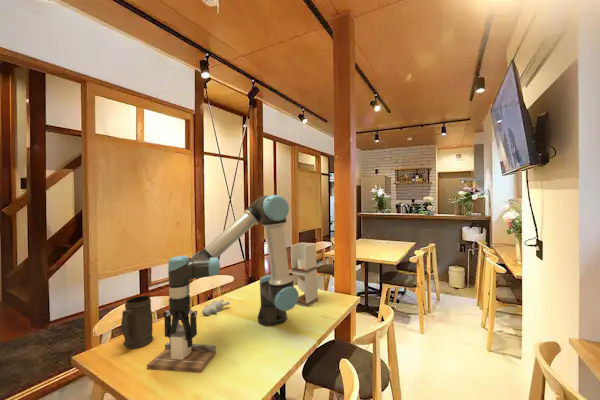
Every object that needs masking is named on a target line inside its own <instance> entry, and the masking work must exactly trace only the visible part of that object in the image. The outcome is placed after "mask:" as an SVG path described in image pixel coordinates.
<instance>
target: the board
mask: <svg viewBox="0 0 600 400" xmlns="http://www.w3.org/2000/svg"><path fill="white" fill-rule="evenodd" d="M216 354H217V345H215V344H198V343H197V344H196V343H192V346H191V353H190V354H189V355H188V356H187V357H185V358H184V359H183V360H177V359H171V346H170V342H166V343H165V344H164V350H162V351H161V352H160V353H159V354H158V355H157V356H155V357H154V358H153V359H152V360H151V361H150V362H148V363H147V364H146V369H147V370H160V371H173V372H189V373H199V374H200V373H202V372H203V371H204V370H205V368H206V367H208V365H209V364H210V362H211V361H212V360H213V359H214V357H215V356H216Z"/></svg>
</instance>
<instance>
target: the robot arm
mask: <svg viewBox="0 0 600 400" xmlns="http://www.w3.org/2000/svg"><path fill="white" fill-rule="evenodd" d="M243 211H244V212H243V214H242V215H240V216H239V217H238V218H237V219H236V220H235V221H233V222H232V223H231V224H230V225H229V226H227V228H226V229H224V230H223V231H222V232H221V233H219V235H217V236H216V237H215V238H214V239H213V240H211V242H209V243H208V244H207V245H206V246H204V248H203V249H201V250H200V251H198V252H196V253H194V254H193V255H192V256H191V257H190V259H189V256H188V255H177V256H173V257H170V258H169V260H168V268H167V269H168V270H167V272H168V274H167V275H168V297H169V298H168V306H170V307H169V309H167V310H165V311H164V312H162V315H163V318H164V337H165V338H169V343H170V346H171V340H170V336H171V335H172V334H173V333H175V332H176V329H177V325H178V320H179V321H180V322H181V324H182V325H183V327H184V330H185V334H186V338H187V339H185V357H187V356H188V355H189V354H190V353H191V346H192V344H193V338H195V337H196V336H197V334H198V329H197V327H198V326H197V314H198V310H192V308H191V307H190V305H191V295H190V293H191V292H190V291H191V290H190V288H191V287H190V280H194V279H201V278H208V277H213V276H217V275H219V274H220V271H221V263H220V259H219V257H220V256H221V255H222V254H223V253H225V252H226V251H227V250H228V249H229V248H230V247H232V245H233V244H235V243H236V242H237V241H238V240H239V239H240V238H241V237H242V236H243V235H244V234H245V233H247V232H248V231H250V229H251V228H252V227H254V226H256V225H259V224H260V222H261V225H262V227H263V228H265V231H266V232H265V233H266V234H265V235H266V241H267V250H268V257H269V258H268V259H269V267H270V268H269V269H270V274H266V275H265V274H264V275H263V276H261V277H260V278H259V292H260V293H259V294H260V297H259V298H260V307H259V310H258V315H257V322H258V324H260V325H262V326H265V327H274V326H279V325H282V324H284V323H285V322H286V321H287V320H288V313H287V312H288V311H290V310H292V309H294V308H295V306H296V305H297V302H298V298H299V297H300V295H299V291H298V290H297V288H296V287H295V285H294V278H293V277H292V276H291V275H290V269H289V260H288V252H287V244H286V242H287V241H286V234H285V225H286V224H287V216H288V214H289V211H290V206H289V203H288V201H287V200H286V199H285V198H284V197H283V196H282V195H278V194H270V195H269V194H268V195H262V196H260V197H258V198H257V199H256V200H255V201H253V202H252V203H251V204H250V205H249V206H248V207H247V208H245V210H243Z"/></svg>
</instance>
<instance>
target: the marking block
mask: <svg viewBox="0 0 600 400" xmlns="http://www.w3.org/2000/svg"><path fill="white" fill-rule="evenodd" d="M185 339H187V338H186V334H185V330H184V329H178V330H177V331H176V332H175V333H173V334H172V335H171V336H170V339H169V341H170V340H171V359H177V360H183V359H184V358H185Z"/></svg>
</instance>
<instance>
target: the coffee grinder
mask: <svg viewBox="0 0 600 400" xmlns="http://www.w3.org/2000/svg"><path fill="white" fill-rule="evenodd" d="M290 258H291V260H290V261H291V264H290V265H291V274H292V275H297V288H298V289H299V290H300V291H301V292H302V293H303V294H301V295H299V298H298V302H297V304H296V305H297V306H301V307H306V308H308V307H310V306H312V305H314V304H315V303H317V302H319V297H318V295H319V294H318V269H317V268H318V267H317V265H318V264H317V262H318V261H317V244H316V243H314V242H298V243H295V244H291V245H290Z"/></svg>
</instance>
